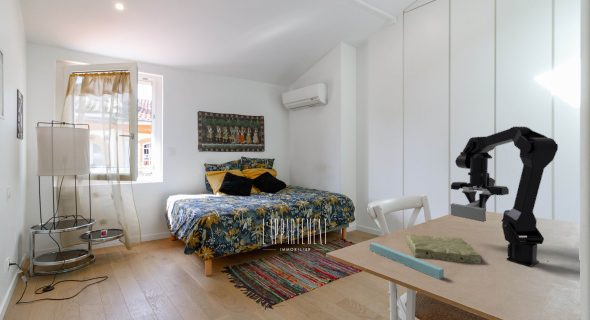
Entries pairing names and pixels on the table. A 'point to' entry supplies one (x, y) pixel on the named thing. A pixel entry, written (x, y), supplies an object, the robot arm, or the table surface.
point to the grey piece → (469, 211)
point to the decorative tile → (442, 248)
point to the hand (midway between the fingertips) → (477, 210)
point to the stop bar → (408, 260)
